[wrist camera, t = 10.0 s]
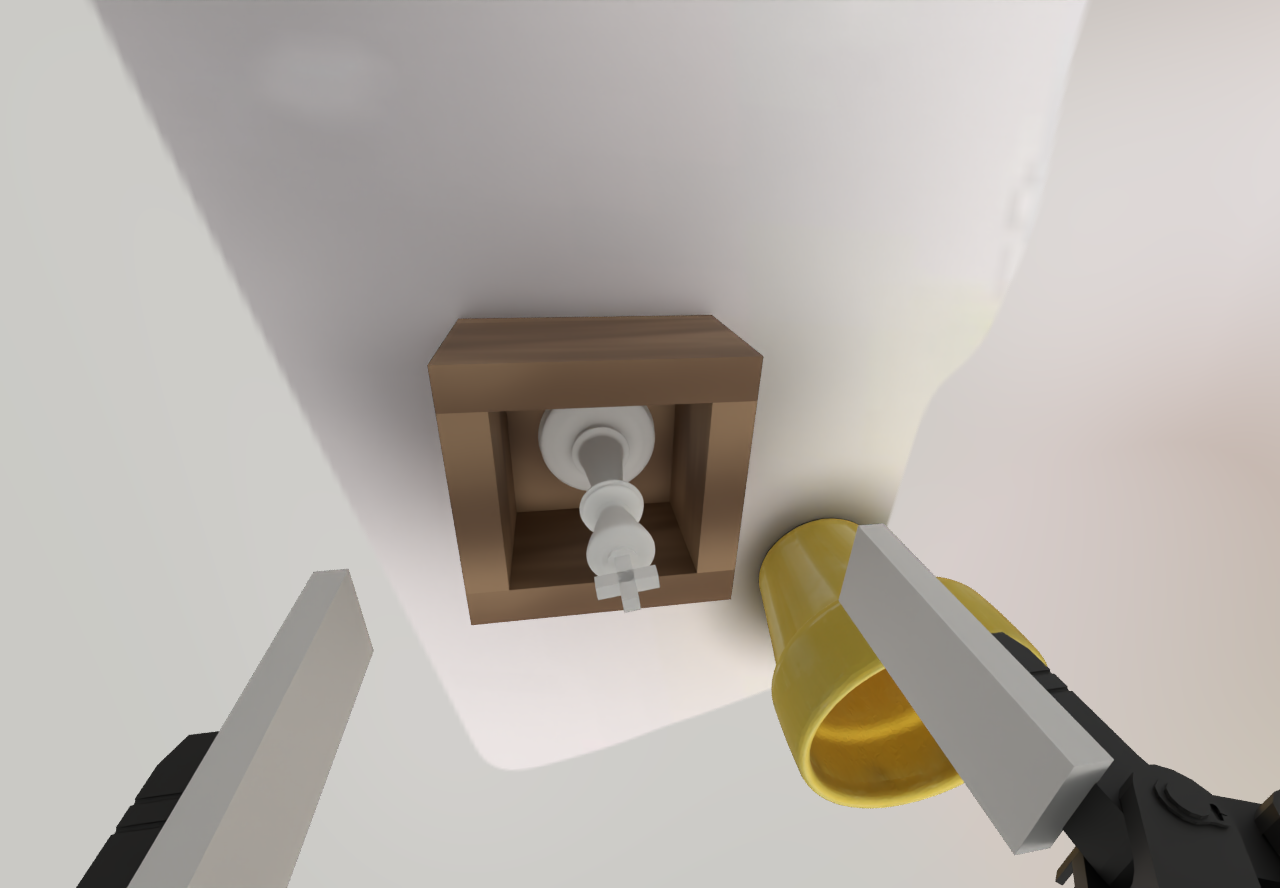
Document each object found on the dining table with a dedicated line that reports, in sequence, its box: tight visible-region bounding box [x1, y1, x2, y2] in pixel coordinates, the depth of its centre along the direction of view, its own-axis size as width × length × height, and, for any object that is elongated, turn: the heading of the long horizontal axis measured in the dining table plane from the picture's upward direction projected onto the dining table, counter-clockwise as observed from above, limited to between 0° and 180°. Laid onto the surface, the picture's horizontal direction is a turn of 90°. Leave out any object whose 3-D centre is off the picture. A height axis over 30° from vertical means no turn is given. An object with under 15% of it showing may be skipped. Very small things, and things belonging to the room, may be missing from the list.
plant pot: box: [759, 518, 1047, 808], centre depth 24 cm, size 10×10×10 cm
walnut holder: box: [427, 315, 763, 625], centre depth 20 cm, size 10×10×6 cm
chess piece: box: [538, 406, 660, 613], centre depth 18 cm, size 5×5×10 cm
